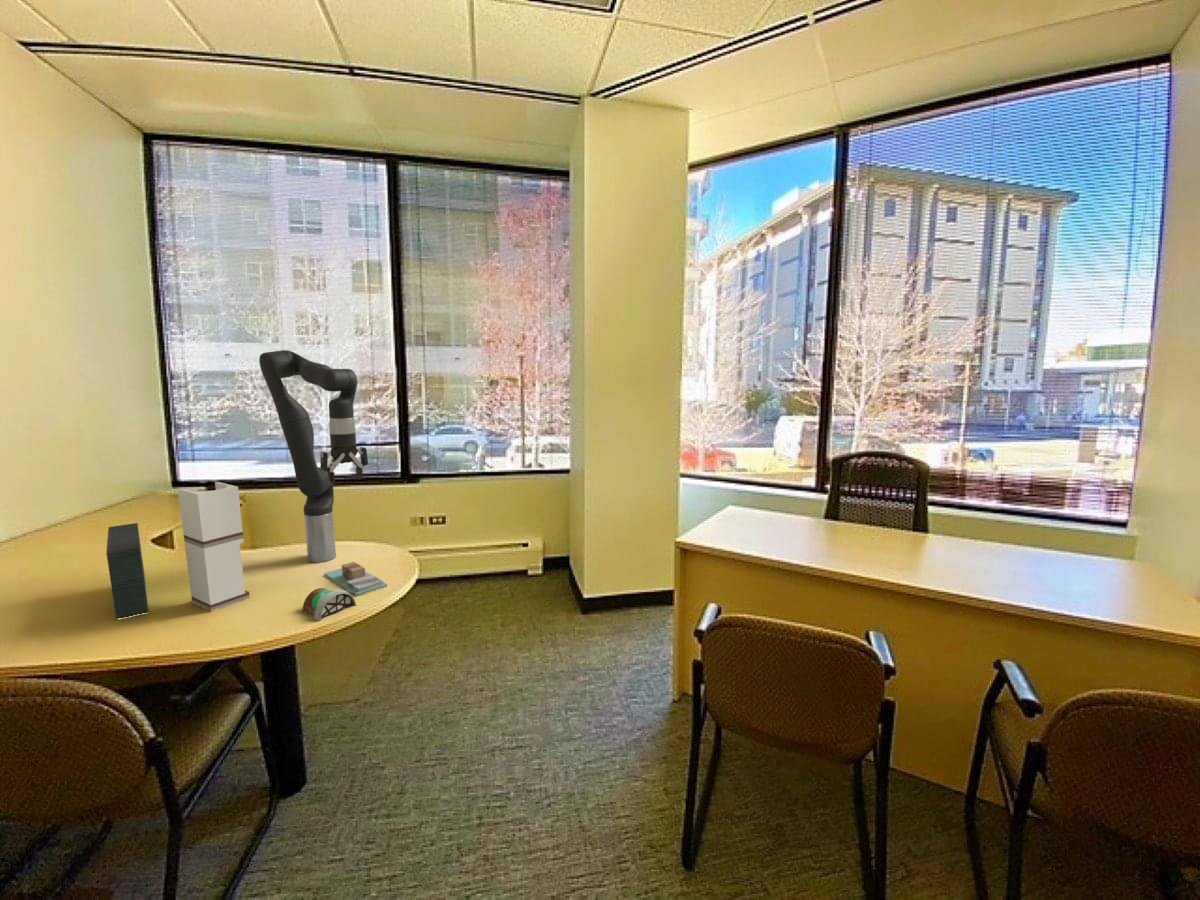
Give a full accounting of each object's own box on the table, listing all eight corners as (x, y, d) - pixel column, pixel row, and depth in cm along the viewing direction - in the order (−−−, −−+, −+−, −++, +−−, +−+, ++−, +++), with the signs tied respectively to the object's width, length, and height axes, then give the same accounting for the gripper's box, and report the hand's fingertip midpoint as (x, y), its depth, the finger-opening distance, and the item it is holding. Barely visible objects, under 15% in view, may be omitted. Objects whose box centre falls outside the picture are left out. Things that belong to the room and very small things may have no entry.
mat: (324, 575, 187) (324, 573, 187) (353, 567, 194) (353, 565, 194) (356, 596, 171) (356, 594, 171) (387, 586, 178) (387, 584, 178)
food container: (335, 578, 169) (356, 585, 164) (336, 597, 170) (357, 604, 165) (296, 592, 159) (317, 600, 154) (297, 612, 160) (318, 621, 155)
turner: (336, 578, 183) (335, 566, 182) (360, 571, 189) (359, 560, 188) (358, 592, 172) (357, 580, 171) (383, 584, 178) (382, 572, 177)
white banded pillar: (249, 598, 169) (238, 486, 163) (211, 611, 160) (197, 494, 154) (230, 589, 175) (218, 481, 169) (192, 602, 166) (177, 488, 160)
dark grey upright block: (117, 587, 176) (108, 527, 173) (145, 581, 181) (137, 522, 177) (116, 621, 154) (106, 552, 151) (148, 613, 159) (139, 547, 155)
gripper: (359, 428, 185) (362, 475, 188) (314, 432, 175) (318, 482, 177) (369, 430, 180) (372, 479, 183) (324, 435, 170) (328, 486, 173)
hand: (345, 480), depth 180 cm, fingers open, 8 cm apart
